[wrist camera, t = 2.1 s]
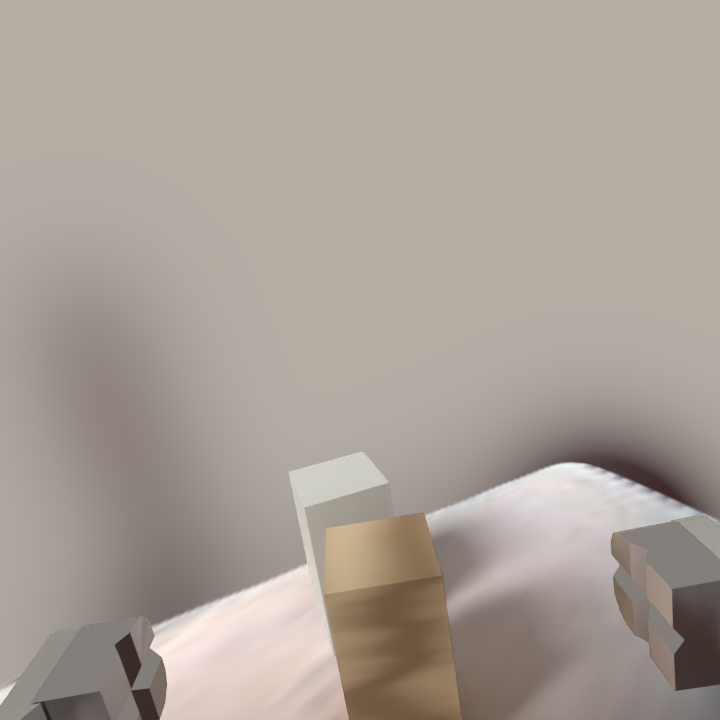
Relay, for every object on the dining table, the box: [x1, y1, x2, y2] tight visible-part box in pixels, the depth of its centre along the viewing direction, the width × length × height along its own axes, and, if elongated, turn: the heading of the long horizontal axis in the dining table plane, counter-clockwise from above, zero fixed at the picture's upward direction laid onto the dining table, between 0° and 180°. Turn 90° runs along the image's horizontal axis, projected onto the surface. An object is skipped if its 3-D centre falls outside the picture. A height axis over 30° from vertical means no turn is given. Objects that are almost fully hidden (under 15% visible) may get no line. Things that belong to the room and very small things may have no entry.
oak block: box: [324, 513, 462, 720], centre depth 26 cm, size 5×5×10 cm
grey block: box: [289, 452, 394, 656], centre depth 34 cm, size 5×5×10 cm
